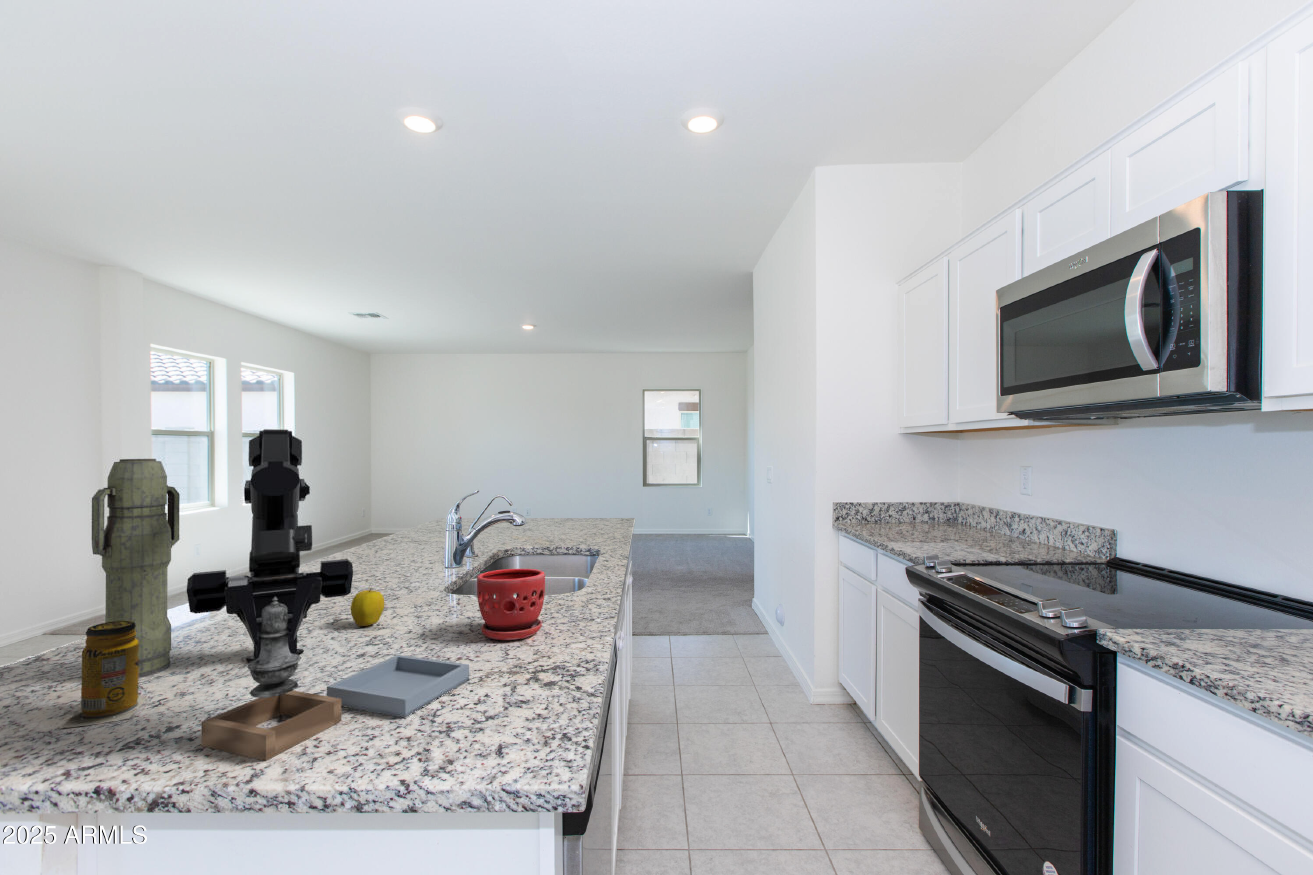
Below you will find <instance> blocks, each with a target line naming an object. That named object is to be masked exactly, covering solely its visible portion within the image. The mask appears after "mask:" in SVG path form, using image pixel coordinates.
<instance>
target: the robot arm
mask: <svg viewBox="0 0 1313 875" xmlns="http://www.w3.org/2000/svg"><path fill="white" fill-rule="evenodd" d="M302 464H303V441H302V439H300V438H298V437H296V436H295V435H293V431H292V430H289V429H283V428H282V429H279V428H278V429H271V428H269V429H267V428H266V429H265V428H264V429H263V430H259V432H258V435H257V436H255V437H252V438H251V439H250V440H248V467H253V468H252V469H251V475H250V479H249V480H248V479H247V480H245V482H244V487H243V496H244V504H247V505H249V504H250V505H251V506H250V509H251V510H250V511H251V514H252V519H251V520H252V521H251V542H250V543H251V546H250V552H249V555H248V556H249V559H248V562H249V563H248V570H249V571H248V572H249V573H250V575H247V574H246V575H245V574H244V575H234V576H232V575H231V576H227V570H226V569H223V570H214V571H213V570H212V571H202V572H201V571H199V572H194V573H193V574H191V575H190V576H189V577H188V578H187V582H186V583H187V584H186V594H187V596H186V597H187V602H188V608H189V612H190V613H193V614H196V615H197V614H203V613H210V612H211V613H212V612H219V611H220V612H221V610H223V609H224V608H225V610H226V611H225V612H226V613H227V614H228V615H236V616H237V617H238V619H239V620H240V621H241V622H242V624H243V626H244V627H245V629H246V631H247V633H248V635H249V637H250V640H251V641H252V644H253V654H251V655H248V656H245V659H244V660H245V661H249V662H252V661H254V660H256V659H258V658H259V655H260V651H261V637H260V636H258V634H259V633H260V632H261V631H262V610H263V609H264V607H266V606H267V605H270V604H271V603H273V601H272V599H273V598H274V597H276V598H277V599H278V600H277V602H279V603H281V604H284V605H285V606H286V607H287V628H289V629H291V631H290V632H289V633H288V647H289V651H290V653H292V654H297V655H301V654H304V652H305V650H304V649H303V648H298V632H299V630H300V627H301V624H302V622H303V621H304V620H305V619H307V618H308V612H309V610H310V608H311V607H312V606H313V605H316V604H319V603H320V602H321V596H322V597H323V598H325V599H329V598H330V599H331V598H339V597H345V596H349V595H350V594H352V593H351V592H352V587H353V586H352V585H353V577H354V571H353V570H354V566H353V562H352V561H350V560H349V559H348V558H345V559H331V560H322V561H320V568H319V571H313V572H305V571H304V572H300V568H301V554H300V553H301V552H309V551H310V552H311V551H312V550H313V525H311V524H310V525H308V524H307V525H299V517H298V516H299V515H298V514H299V513H298V512H299V508H300V502H305V500H306V497H307V496H308V495H311V492H310V491H311V488H310V486H309V484H307V481H305V478H300V469H299V467H300V466H302ZM298 466H299V467H298Z"/></svg>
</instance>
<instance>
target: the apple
mask: <svg viewBox="0 0 1313 875" xmlns="http://www.w3.org/2000/svg"><path fill="white" fill-rule="evenodd" d="M385 605H386V604H385V598H384V595H383V594H382V593H381V592H380V591H377V590H372V587H370V588H369V589H368V590H367V589H366V590H361V591H358V592H357V593H356V594H355V595H354V596H353V598H352V601H351V604H350V615H351V617H352V619H353V622H354V623H355V624H356V625H357V626H358V627H365V626H366V627H367V626H370V625H374V624H377V623H378V622H379V621H380V619H381V616H382V614H383V612H384V608H385Z"/></svg>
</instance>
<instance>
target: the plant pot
mask: <svg viewBox="0 0 1313 875" xmlns="http://www.w3.org/2000/svg"><path fill="white" fill-rule="evenodd" d="M545 592H546V575H545V572H544V571H543V570H540V569H534V568H507V569H498V570H497V569H496V570H491V571H487V572H483V573H480V574H478V575H477V577H476V596H477V604H478V608H479V613H480V615H481V618H482V620H483V621H484V623H483V624H482V626H481V628H480V629H481V632H482V634H484V636H486V637H487V638H490V639H493V640H499V641H512V640H515V641H516V640H525V639H526V638H529V637H530V636H533V635H535V634H537V633H538V632H539V631H540V630H541V628H542V626H543V622H542V620H541V619H539V617H540V614H541V613H542V609H543V607H544V602H545V601H544V600H545V595H546V594H545ZM515 594H516V597H514V595H515Z"/></svg>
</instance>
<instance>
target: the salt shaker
mask: <svg viewBox="0 0 1313 875" xmlns="http://www.w3.org/2000/svg"><path fill="white" fill-rule="evenodd" d="M277 600H278V599H277V598H276V597H274V598H273V599H272V601H273V603H271V604H270V605H267V606H266V607H264V609H263V610H262V631H261V632H260V633H259V634H258V636H260V637H261V651H260V655H259V658H258V659H256V660H254V661H249V663H248V664H247V667H246V668H247V669H248V670H249V671H250V672H249V673H250V675H251V678H252V680H253V681H254V682H256V683H258V685H256V686H255V687H253V688H252V689H251V690H250V691H249V694H250V696H251V697H253V698H256V699H257V698H266V697H274V696H278V695H282V694H285V693H288V692H290V691H295V690H296V689H297V688H298V686H299V683H298V682H297V681H296V680H293V679H291V678H292V677H293V675H294V674H295V673H296V672H297V669H298V666H299V662H300V661H301V660H302V657H301V656H300V654H298V655H297V654H292V653H290V651H289V647H288V633H289V632H290V631H291V629H289V628H287V607H286V606H285V605H284V604H281V603H279V602H277Z"/></svg>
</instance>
